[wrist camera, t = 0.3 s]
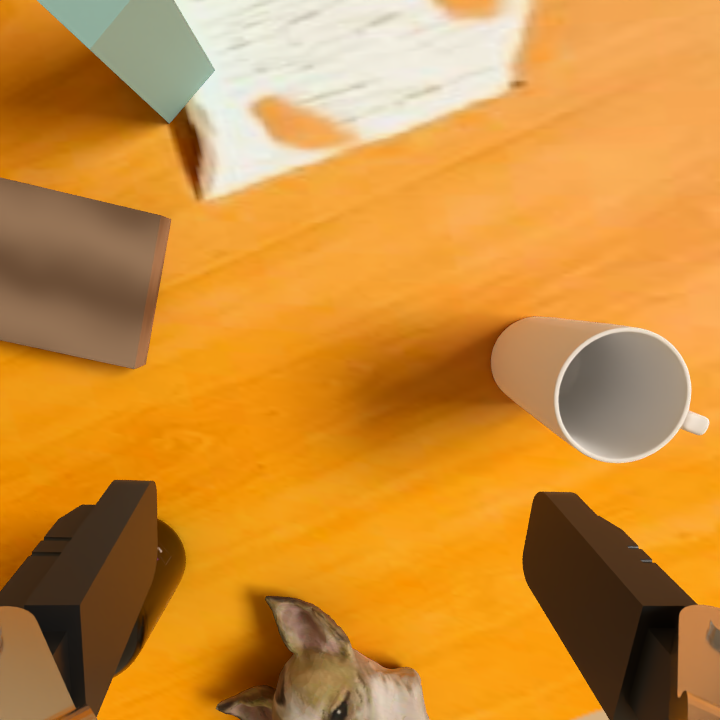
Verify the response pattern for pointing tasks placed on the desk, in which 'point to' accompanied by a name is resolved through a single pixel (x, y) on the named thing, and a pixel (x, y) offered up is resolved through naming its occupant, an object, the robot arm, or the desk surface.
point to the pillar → (140, 46)
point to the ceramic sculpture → (327, 676)
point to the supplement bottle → (156, 592)
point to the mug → (597, 385)
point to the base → (78, 274)
